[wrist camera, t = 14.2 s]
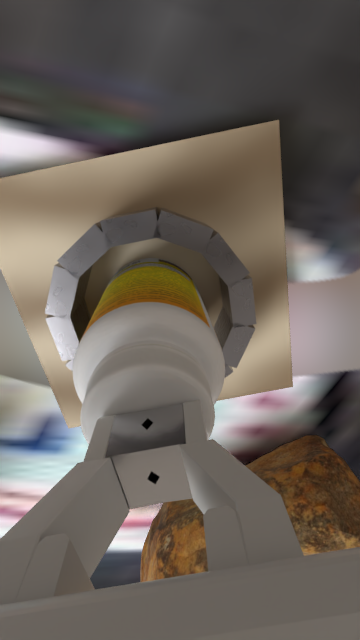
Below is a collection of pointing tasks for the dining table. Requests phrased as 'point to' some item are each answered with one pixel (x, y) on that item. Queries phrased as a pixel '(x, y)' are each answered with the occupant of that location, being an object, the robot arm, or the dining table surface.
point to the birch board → (157, 239)
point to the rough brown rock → (299, 499)
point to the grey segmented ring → (141, 225)
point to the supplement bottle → (148, 346)
